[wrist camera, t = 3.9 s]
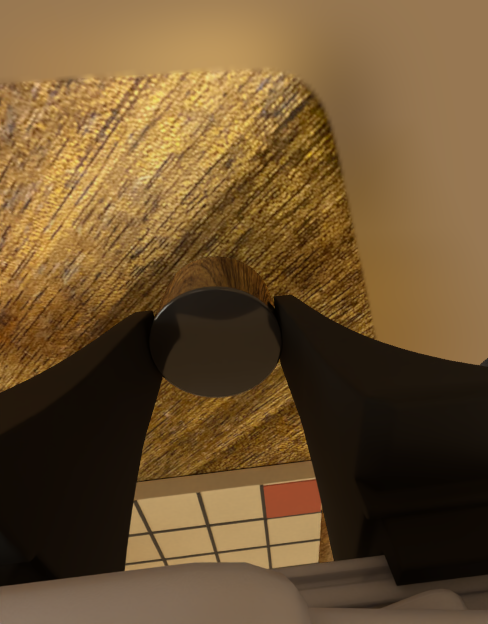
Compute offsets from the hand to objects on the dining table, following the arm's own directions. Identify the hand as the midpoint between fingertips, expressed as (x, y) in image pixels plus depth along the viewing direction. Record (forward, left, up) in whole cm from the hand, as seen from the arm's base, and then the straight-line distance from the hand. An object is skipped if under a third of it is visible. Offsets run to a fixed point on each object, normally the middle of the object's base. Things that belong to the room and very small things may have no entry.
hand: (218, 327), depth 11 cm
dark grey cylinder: (0, 0, -2) cm, 2 cm away
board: (+4, +30, -6) cm, 31 cm away
